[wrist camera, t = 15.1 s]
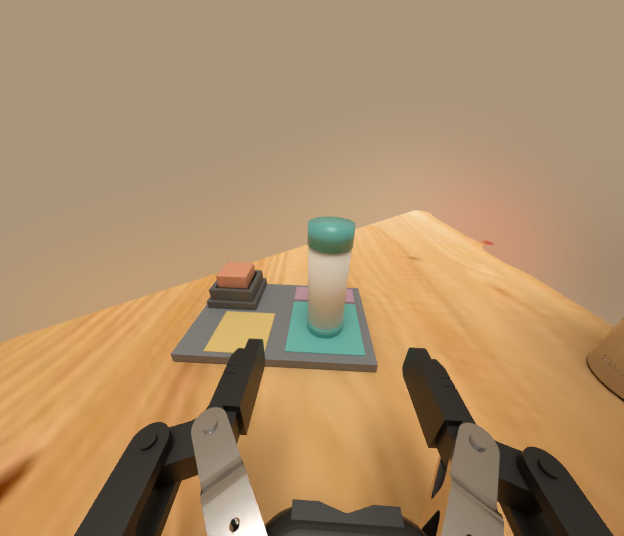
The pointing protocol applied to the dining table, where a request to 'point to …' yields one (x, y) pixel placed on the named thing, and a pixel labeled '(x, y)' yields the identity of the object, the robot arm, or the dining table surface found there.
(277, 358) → the colouring board
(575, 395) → the dining table surface
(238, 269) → the button
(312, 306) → the marker
